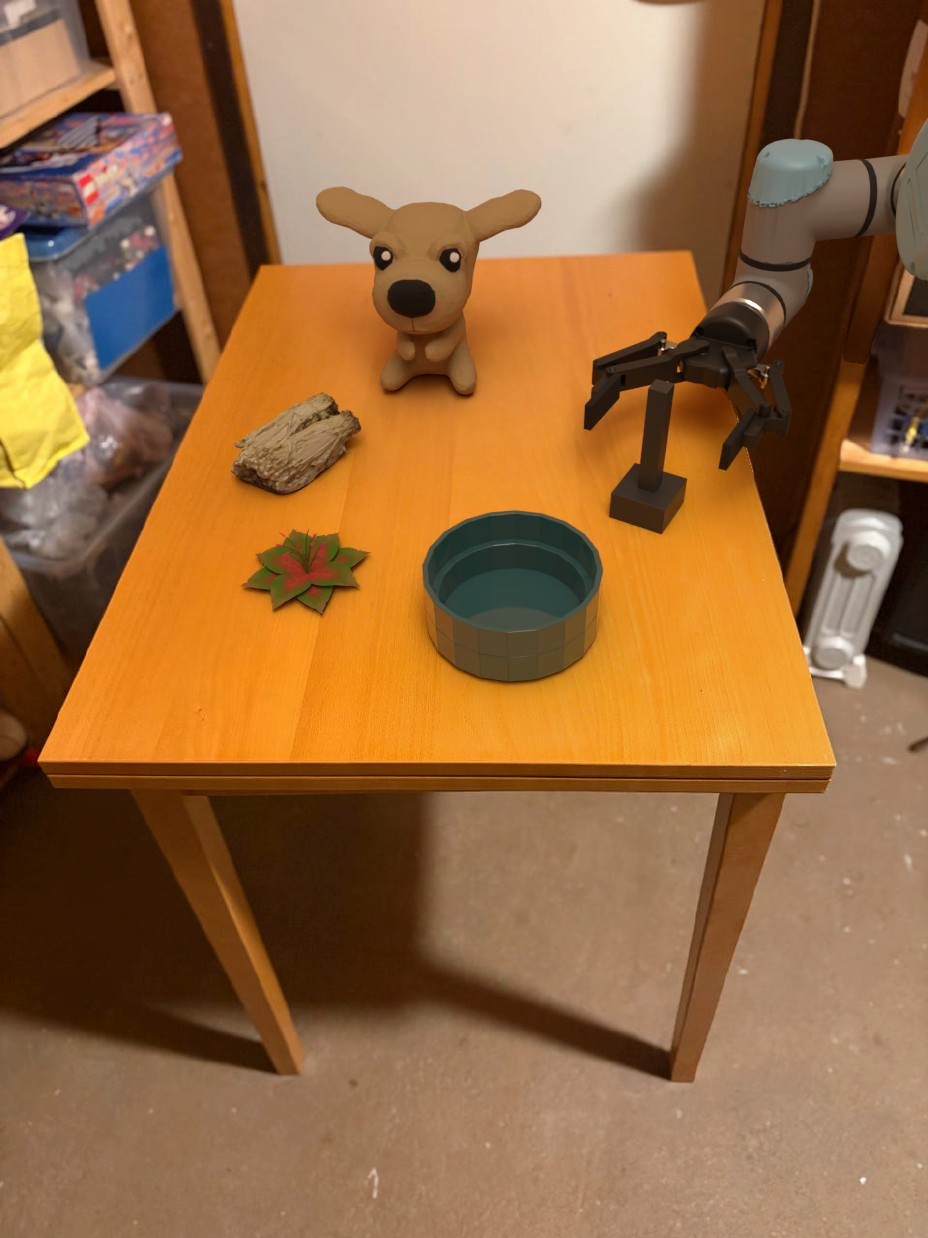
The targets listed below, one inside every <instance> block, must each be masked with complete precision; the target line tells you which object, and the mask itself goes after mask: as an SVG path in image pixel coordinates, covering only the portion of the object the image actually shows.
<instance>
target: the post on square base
mask: <svg viewBox="0 0 928 1238" xmlns="http://www.w3.org/2000/svg"><path fill="white" fill-rule="evenodd" d="M675 385H676V384H673V383H670V382H668V381H667V382H666V381H662V380H658V379H656V380H655V381H654V382H653V383H652V385H649V386H648V388H647V394H646V395H647V396H646V405H645V414H644V423H643V432H642V443H641V450H640V460H639V463H638V462H634V463H633V464H632V466H631V467H630V468H629V470H628V471H627V472H626V473H625V474H624V476H623V477H622V478H621V479H620V481H619V482H618V483H617V485H616V486H615V487H614V488H613V490H612V491H611V492H610V502H609V512H608V513H609V514H608V517H609V518H612V519H615V520H618V521H621V522H624V523H628V524H630V525H634V526H637V527H639V528H641V529H646V530H649V531H652V532H655V533H657V534H663V533H664V531H665V530H666V528H667V527H668V525H669V524H670V523H671V521H672V520H673V518H674V517H675V515H676V514H677V513H678V511H679V510H680V509H681V507H682V506H683V504H684V503H685V502H684V501H685V496H686V492H687V491H686V490H687V484H688V478H686V477H683V476H680V475H677V474H674V473H670V472H667V471H664V468H665V460H666V453H667V446H668V440H669V439H668V438H669V430H670V423H671V415H672V409H673V401H674V393H675Z"/></svg>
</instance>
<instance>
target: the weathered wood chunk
mask: <svg viewBox="0 0 928 1238" xmlns="http://www.w3.org/2000/svg"><path fill="white" fill-rule="evenodd" d="M361 430H362V425H361V423H360V419H359V417H357V416H355V415H354V412H353V411H351V410H349V409H345V410H341V412H340V410H339V405H338V403H337V402H336V401H335V399H334V398H333V396H331V395H328V393H327V394H326V393H325V392H323V391H321V392H320V393H317V394H316V395H313V396H309V397H308V398H307V399H306V400H304V401H302V402H299V403H294V404H293V405H292V406H291V407H289V408H287V409H286V410H284V411H283V412H281V413H279V414H278V415H277V416H276V417H275V418H274V419H273V420H271V421H269V422H268V423H266V424H265V423H264V424H263V425H262V426H260V427H258V428H257V429H255V430H253V431H251V432H250V433H248V434H247V435H245V436H244V437H243V438H241V440H238V441H236V442H233V445H234V447H235V448H237V449H241V450H240V451H239V454H238V455H237V457H236V459H234V460H233V461H232V467H233V468H230V470H229V471H230V472H231V473H232V474H233V475H235V477H236V478H238V479H239V480H241V481H243V482H245V483H247V484H250V485H252V486H255V487H258V488H261V489H264V490H266V491H268V492H272V493H275V494H290V493H293V492H295V491H297V490H299V489H302V488H303V487H306V486H307V485H309V484H310V483H311V482H313V481H314V480H315V478H316V477H317V475H318V474H320V473H321V472H325V471H326V470H327V469H329V468H330V467H331V466H332V465H333V464H335V463H336V462H337V461H338V460H340V457H341V456H342V454H344V453H346V454H347V455H352V452H349V451H348V450H347V449H346V447H345V445H346V443H347V442H349V441H350V439H352V438H353V436H354V435H357V434H358V433H360V432H361Z"/></svg>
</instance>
